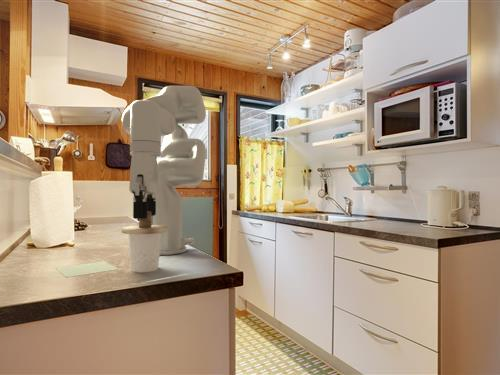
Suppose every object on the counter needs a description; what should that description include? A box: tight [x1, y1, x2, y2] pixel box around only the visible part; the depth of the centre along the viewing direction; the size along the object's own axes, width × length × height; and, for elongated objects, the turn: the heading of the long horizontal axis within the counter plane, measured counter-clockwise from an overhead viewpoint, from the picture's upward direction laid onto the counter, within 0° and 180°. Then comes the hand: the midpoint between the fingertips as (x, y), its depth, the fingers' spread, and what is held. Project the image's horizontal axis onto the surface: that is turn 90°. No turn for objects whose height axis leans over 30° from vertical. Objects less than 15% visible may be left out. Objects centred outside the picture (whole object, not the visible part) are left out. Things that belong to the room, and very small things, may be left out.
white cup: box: [128, 233, 161, 273], centre depth 80 cm, size 8×8×10 cm
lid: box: [121, 212, 167, 235], centre depth 80 cm, size 11×11×5 cm
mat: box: [55, 260, 119, 278], centre depth 80 cm, size 12×12×1 cm
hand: (145, 216), depth 80 cm, fingers open, 9 cm apart
